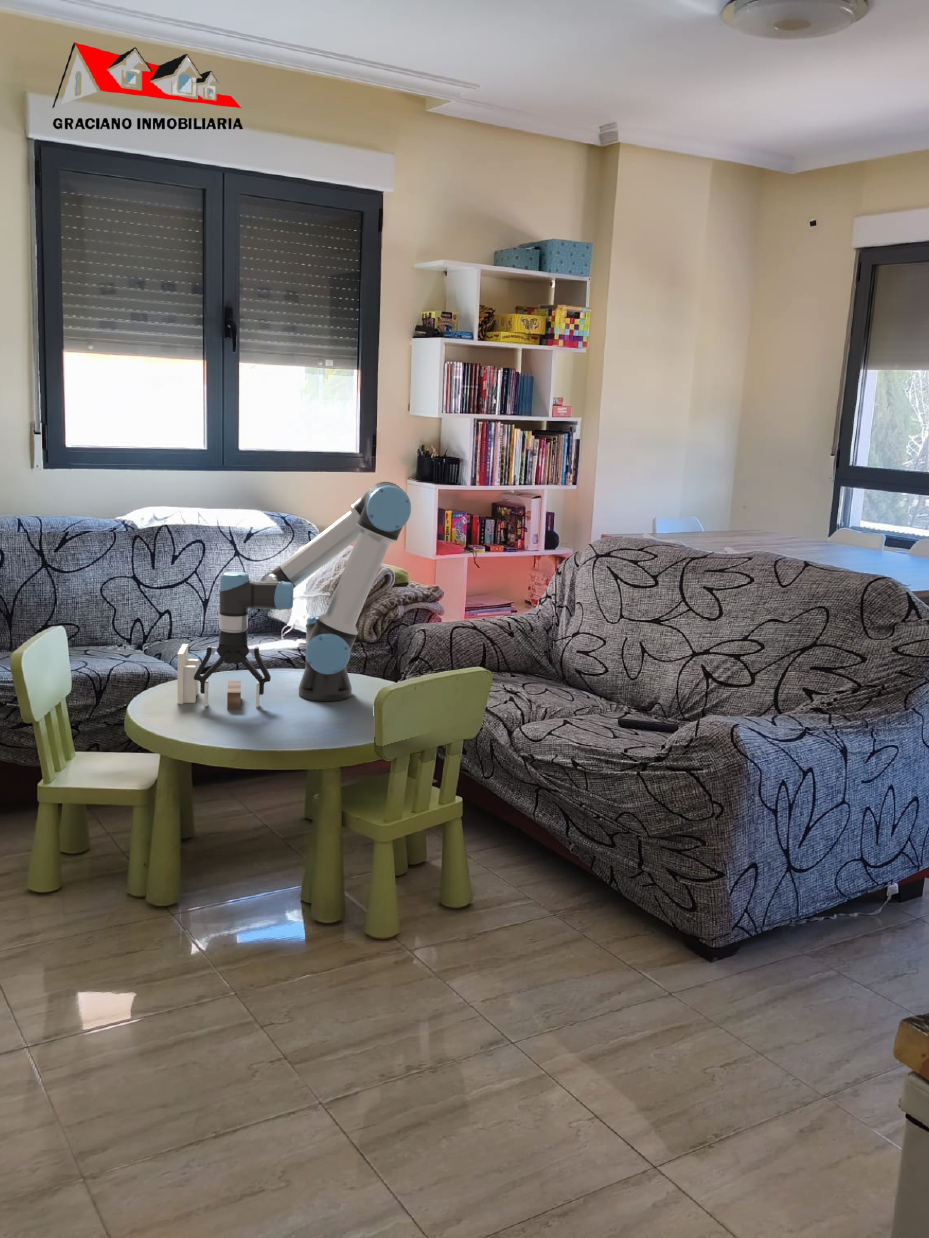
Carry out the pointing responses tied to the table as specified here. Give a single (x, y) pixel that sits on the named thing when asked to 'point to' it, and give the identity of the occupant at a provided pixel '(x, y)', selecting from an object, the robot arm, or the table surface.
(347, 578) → the robot arm
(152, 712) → the table surface
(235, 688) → the brown rectangular block
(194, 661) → the white twin-rail base
